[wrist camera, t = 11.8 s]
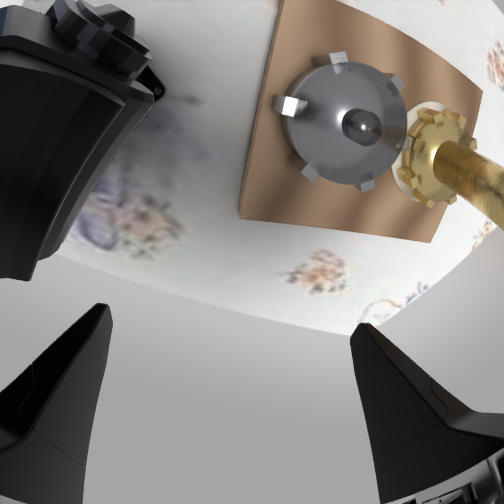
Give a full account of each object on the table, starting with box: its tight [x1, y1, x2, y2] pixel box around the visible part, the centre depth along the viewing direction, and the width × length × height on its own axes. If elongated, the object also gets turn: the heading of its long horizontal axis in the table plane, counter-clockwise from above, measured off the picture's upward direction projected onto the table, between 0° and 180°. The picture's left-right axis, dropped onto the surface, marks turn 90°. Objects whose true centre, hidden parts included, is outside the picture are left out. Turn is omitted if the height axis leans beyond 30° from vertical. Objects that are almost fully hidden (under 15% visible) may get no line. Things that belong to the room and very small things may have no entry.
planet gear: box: [396, 107, 504, 231], centre depth 13 cm, size 8×8×12 cm
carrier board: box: [238, 0, 483, 243], centre depth 17 cm, size 20×17×2 cm
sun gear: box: [271, 51, 413, 192], centre depth 14 cm, size 9×8×4 cm
